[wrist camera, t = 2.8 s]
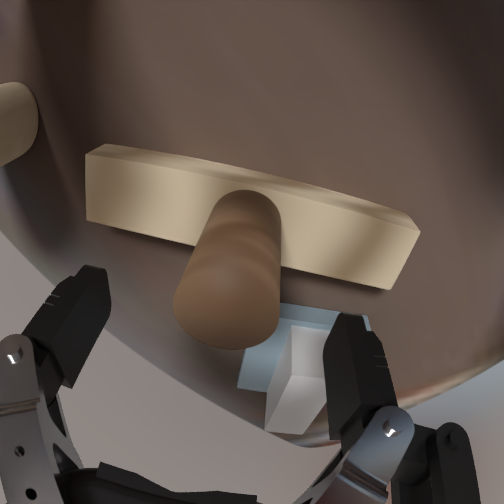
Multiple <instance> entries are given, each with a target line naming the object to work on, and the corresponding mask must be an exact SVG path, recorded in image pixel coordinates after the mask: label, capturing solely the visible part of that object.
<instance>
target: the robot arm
mask: <svg viewBox="0 0 504 504" xmlns="http://www.w3.org/2000/svg"><path fill="white" fill-rule="evenodd" d="M110 312H111V297H110V291H109V284H108V277H107V272H106V270H105V269H103V268H99V267H94V266H90V265H84V266H83V267H82V268H81V269H80V270H79V272H78V273H77V274H76V275H75V277H73V276H69V277H68V278H66V279H65V280H63V281H62V282H60V283H59V284H58V285H57V286H56V288H55V289H54V290H53V292H52V293H51V296H49V297H48V298H47V299H46V301H45V304H43V305H42V306H41V307H40V309H39V310H38V311H37V313H36V314H35V315H34V317H33V318H32V320H31V321H30V322H29V324H28V325H27V327H26V328H25V329H24V331H23V332H22V333H21V334H13V335H9V336H7V337H5V338H4V339H3V340H1V342H0V477H1V481H2V485H3V489H4V493H5V496H6V500H7V503H6V504H261V503H258V502H257V495H247V494H237V493H228V492H221V491H209V492H182V493H181V492H180V493H179V492H172V491H170V490H168V489H166V488H163V487H161V486H160V485H158V484H155V483H154V482H152V481H150V480H148V479H146V478H144V477H142V476H140V475H138V474H137V473H134V472H130V471H127V470H124V469H121V468H118V467H115V466H112V465H109V464H105V463H103V462H100V464H99V467H98V468H84V467H83V464H82V462H81V459H80V457H79V455H78V453H77V451H76V449H75V448H74V446H73V443H72V441H71V438H70V435H69V432H68V428H67V425H66V421H65V418H64V414H63V410H62V406H61V402H60V398H59V394H58V390H59V388H60V386H61V385H63V386H66V387H68V388H71V389H72V388H73V386H74V384H75V381H76V379H77V377H78V375H79V373H80V371H81V369H82V367H83V365H84V363H85V361H86V359H87V357H88V356H89V353H90V352H91V349H92V348H93V346H94V344H95V342H96V340H97V338H98V337H99V335H100V333H101V331H102V329H103V327H104V326H105V324H106V322H107V320H108V318H109V316H110ZM323 367H324V377H325V387H326V398H327V410H328V423H329V436H330V440H341V447H342V448H341V449H340V450H339V451H338V452H337V453H336V455H335V456H334V458H333V459H332V460H331V461H330V462H329V464H328V465H327V466H326V468H325V469H324V470H323V471H322V473H321V474H320V475H319V476H318V478H317V479H316V480H315V481H314V482H313V484H312V485H311V486H310V487H309V488H308V489H307V490H306V491H305V492H304V493H303V494H302V495H301V496H300V497H299V498H298V499H297V500H296V501H295V502H294V503H293V504H385V502H386V500H387V498H388V492H387V491H386V487H387V485H388V483H389V481H391V493H392V504H481V502H480V494H479V488H478V481H477V476H476V470H475V465H474V460H473V455H472V450H471V446H470V442H469V438H468V435H467V433H466V431H465V430H464V429H463V428H462V427H461V426H460V425H458V424H456V423H453V422H449V423H445V424H443V425H442V426H441V427H439V428H438V429H437V430H435V429H431V428H427V427H424V426H420V425H417V424H414V423H413V420H412V418H411V417H410V415H409V414H408V413H407V412H406V411H405V410H403V409H401V408H399V407H398V404H397V399H396V395H395V391H394V387H393V383H392V379H391V375H390V372H389V368H387V367H388V364H387V360H386V358H385V353H384V350H383V346H382V343H381V341H380V340H379V339H378V337H377V336H376V335H375V333H374V332H373V331H367V329H366V325H365V322H364V318H363V316H362V315H358V314H351V313H343V312H341V313H339V314H338V316H337V318H336V320H335V323H334V325H333V327H332V329H331V331H330V333H329V335H328V337H327V340H326V342H325V344H324V348H323ZM431 484H432V485H431ZM432 493H433V494H432Z"/></svg>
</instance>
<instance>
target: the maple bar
mask: <svg viewBox="0 0 504 504" xmlns="http://www.w3.org/2000/svg"><path fill="white" fill-rule="evenodd" d="M85 188H86V215H87V221H91V222H95V223H100V224H104V225H108V226H112V227H116V228H121V229H125V230H129V231H133V232H138V233H142V234H146V235H150V236H155V237H159V238H163V239H167V240H172V241H176V242H180V243H185V244H189V245H193V246H195V249H194V251H193V253H192V255H191V257H190V260H189V262H188V264H187V266H186V269H185V271H184V273H183V276H182V278H181V280H180V282H179V285H178V287H177V289H176V292H175V294H174V297H173V311H174V314H175V317H176V319H177V321H178V323H179V324H180V325H181V327H182V328H183V329H184V330H185V331H186V332H187V333H188V334H189V335H191V336H192V337H193V338H195V339H197V340H198V341H200V342H202V343H204V344H207V345H209V346H212V347H216V348H221V349H229V350H238V349H246V348H250V347H254V346H256V345H259V344H261V343H263V342H264V341H266V340H267V339H268V338H269V337H270V336H271V335H272V334H273V333H274V332H275V330H276V328H277V326H278V323H279V314H280V276H281V266H285V267H289V268H293V269H298V270H302V271H307V272H311V273H315V274H320V275H324V276H329V277H333V278H338V279H342V280H347V281H351V282H356V283H360V284H365V285H369V286H374V287H378V288H383V289H387V290H391V288H392V286H393V284H394V282H395V281H396V279H397V277H398V275H399V273H400V272H401V270H402V268H403V266H404V264H405V262H406V260H407V258H408V256H409V254H410V252H411V251H412V249H413V247H414V245H415V243H416V241H417V239H418V236H419V234H420V231H419V229H418V228H417V226H416V225H415V224H414V222H413V221H412V220H411V218H410V217H409V216H408V214H406V213H403V212H400V211H397V210H394V209H391V208H388V207H385V206H382V205H379V204H375V203H372V202H369V201H366V200H362V199H359V198H356V197H352V196H349V195H346V194H342V193H339V192H335V191H332V190H328V189H324V188H321V187H317V186H313V185H310V184H306V183H302V182H298V181H294V180H291V179H287V178H283V177H279V176H275V175H270V174H266V173H262V172H258V171H253V170H249V169H245V168H240V167H236V166H231V165H226V164H222V163H217V162H212V161H207V160H202V159H197V158H192V157H186V156H181V155H176V154H170V153H164V152H158V151H152V150H146V149H140V148H133V147H127V146H120V145H113V144H104V145H102V146H100V147H98V148H96V149H94V150H92V151H91V152H89V153H87V154H85Z"/></svg>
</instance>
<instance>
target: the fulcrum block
mask: <svg viewBox="0 0 504 504" xmlns="http://www.w3.org/2000/svg"><path fill="white" fill-rule="evenodd" d="M339 313H341V312H338V311H332V310H325V309H319V308H313V307H306V306H300V305H294V304H288V303H282V302H280V314H279V323H278V326H277V328H276V330H275V332H274V333H273V334H272V335H271V336H270V337H269V338H268V339H267V340H266V341H264V342H263V343H261V344H259V345H256V346H254V347H250V348H246V349H245V350H244V354H243V358H242V362H241V367H240V371H239V376H238V382H237V388H241V389H247V390H253V391H260V392H267V401H266V414H265V427H264V431H269V432H278V433H288V434H300V435H303V433H304V432H305V431H306V429H307V428H308V427H309V425H310V424H311V423H312V421H313V420H314V419H315V417H316V416H317V414H318V413H319V412H320V410H321V409H322V407H323V406H324V405H325V403H326V402H327V398H326V387H325V377H324V367H323V348H324V344H325V342H326V340H327V337H328V335H329V333H330V331H331V329H332V327H333V325H334V323H335V320H336V318H337V316H338V314H339ZM343 313H345V312H343ZM351 314H352V313H351ZM358 315H359V314H358ZM362 316H363V318H364V322H365V325H366V329H367V331H371V329H370V325H369V321H368V317H367V316H366V315H362Z"/></svg>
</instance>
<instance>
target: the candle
mask: <svg viewBox="0 0 504 504" xmlns="http://www.w3.org/2000/svg"><path fill="white" fill-rule="evenodd" d="M38 121H39V117H38V107H37V103H36V100H35V98H34V96H33V94H32V92H31V91H30V89H29V88H28V87H27V86H26V85H24V84H22V83H19V82H10V83H5V84H0V167H1V166H3V165H5V164H7V163H9V162H10V161H12V160H14V159H16V158H18V157H20V156H21V155H23V154H24V153H25V152H27V151H28V150H29V149H30V147H31V146H32V144H33V142H34V140H35V138H36V134H37V130H38Z"/></svg>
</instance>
